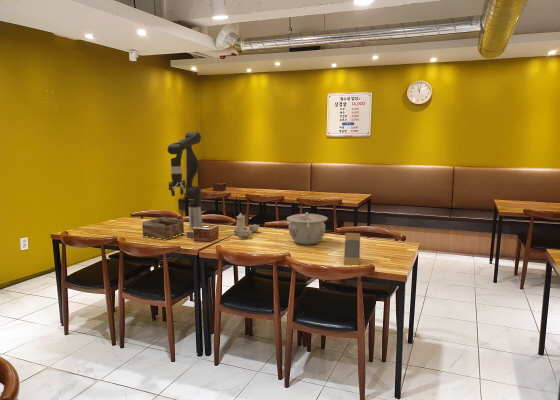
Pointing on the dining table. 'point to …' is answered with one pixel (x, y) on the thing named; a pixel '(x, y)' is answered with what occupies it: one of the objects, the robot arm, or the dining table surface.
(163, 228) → the box
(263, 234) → the dining table surface
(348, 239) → the sandwich container
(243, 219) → the chinaware
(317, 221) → the chamber pot
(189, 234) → the lid
